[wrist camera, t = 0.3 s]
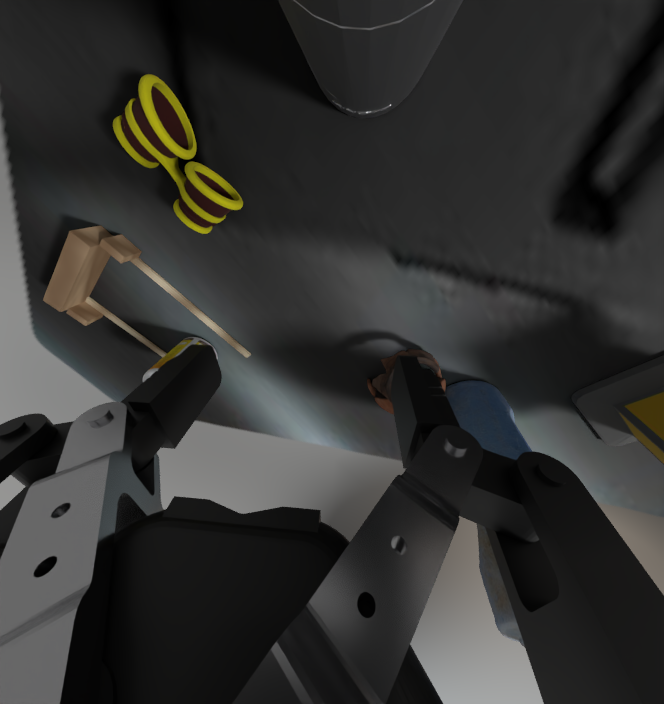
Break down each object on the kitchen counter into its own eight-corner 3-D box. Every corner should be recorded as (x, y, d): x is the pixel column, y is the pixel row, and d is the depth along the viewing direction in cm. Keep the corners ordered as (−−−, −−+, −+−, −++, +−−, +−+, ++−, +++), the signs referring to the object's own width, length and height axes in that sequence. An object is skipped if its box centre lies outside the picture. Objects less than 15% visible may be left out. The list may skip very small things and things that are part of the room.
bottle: (423, 388, 35) (553, 851, 11) (499, 370, 32) (924, 972, 8) (437, 428, 40) (552, 815, 16) (505, 415, 37) (783, 881, 12)
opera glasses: (139, 128, 22) (87, 116, 18) (176, 84, 20) (127, 59, 16) (216, 232, 26) (188, 242, 22) (252, 204, 24) (229, 209, 20)
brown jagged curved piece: (349, 367, 35) (363, 381, 27) (402, 330, 36) (431, 332, 27) (393, 429, 37) (418, 459, 29) (442, 393, 38) (480, 413, 29)
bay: (255, 350, 35) (245, 365, 32) (204, 390, 41) (192, 406, 38) (103, 218, 26) (72, 223, 24) (69, 294, 33) (41, 304, 30)
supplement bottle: (182, 357, 37) (129, 408, 29) (182, 329, 34) (123, 377, 26) (217, 370, 38) (176, 423, 30) (221, 343, 35) (176, 394, 26)
